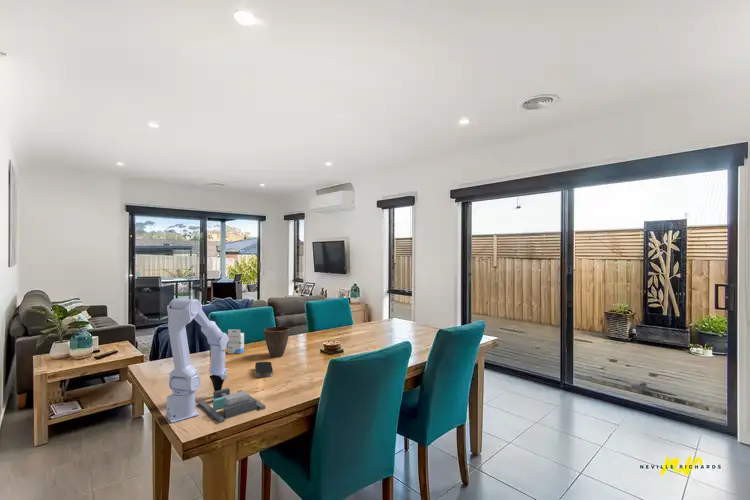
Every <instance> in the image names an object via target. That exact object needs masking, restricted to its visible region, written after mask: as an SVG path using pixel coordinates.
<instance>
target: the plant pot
mask: <svg viewBox="0 0 750 500" xmlns="http://www.w3.org/2000/svg"><path fill="white" fill-rule="evenodd" d="M263 333H264V334H263V335H264V341H265V343H266V348H267V350H268V353H269V356H270V357H272V358H279V357H283V356H284V354H285V351H286V348H287V344H288V341H289V336H290V335H289V334H290V327H287V326H271V327H266V328H264V329H263Z"/></svg>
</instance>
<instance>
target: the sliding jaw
mask: <svg viewBox="0 0 750 500" xmlns="http://www.w3.org/2000/svg"><path fill="white" fill-rule="evenodd" d="M230 389H231V388H228V387H225V388H222V389H221V390H218V391H214V390H213V397H212V401H213V402H212V408H213V409H214V410H215V411H217V410H219V409H222V408H223V396H226V395H230V394H231V393H230V392H231V391H230Z"/></svg>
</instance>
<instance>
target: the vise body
mask: <svg viewBox="0 0 750 500" xmlns="http://www.w3.org/2000/svg"><path fill="white" fill-rule="evenodd" d="M241 391H243V390H242V389H240V390H237V391H236V393H237V392H241ZM197 405H198V406H199V407H200V408H201V409H202V410H203V411H204V412H206V413H207V414H208V415H209V416H210V417H211V418H212V419H214V420H215V422H217V423H218V424H221V423H224V422H225V420H227V419H230V418H233V417H237V416H240V415H243V414H247V413H249V412H253V411H255V410H257V409H259V410H260V411H262V410H265V409H266V405H265V404H264V403H262V402H261V401H260V400H257V398H255V397H253V396H251V395H250V394H249V401H246V402H242V403H239V404H235V405H232V406H229V407H225V408H224V411H223V410H222V411H223V412H222V413H223V415H221V413H219V412H218V411H217V410H215V409H214V408H213V406H211V405H210V404H208V403H207V402H206V401H205V400H204V399H203V400H199V401H198V402H197Z"/></svg>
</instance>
